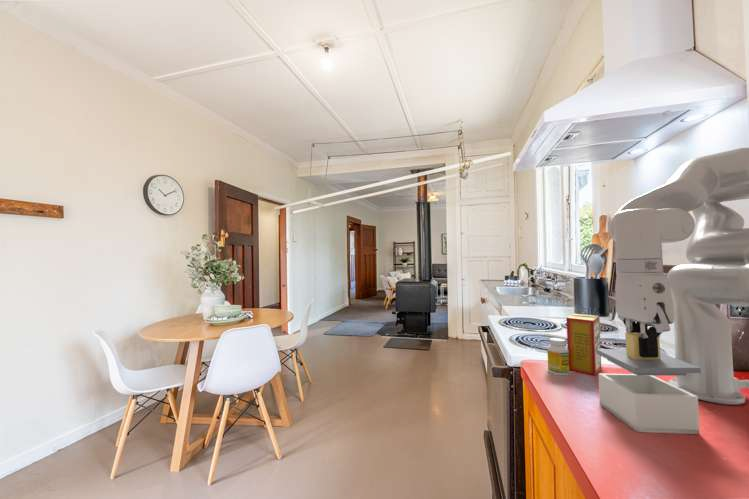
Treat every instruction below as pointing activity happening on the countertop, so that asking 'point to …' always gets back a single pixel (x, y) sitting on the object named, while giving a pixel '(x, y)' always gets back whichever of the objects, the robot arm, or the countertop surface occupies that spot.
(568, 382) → the countertop surface
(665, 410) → the parts tub
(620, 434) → the countertop surface
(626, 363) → the lid
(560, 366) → the supplement bottle
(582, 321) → the baking soda box
